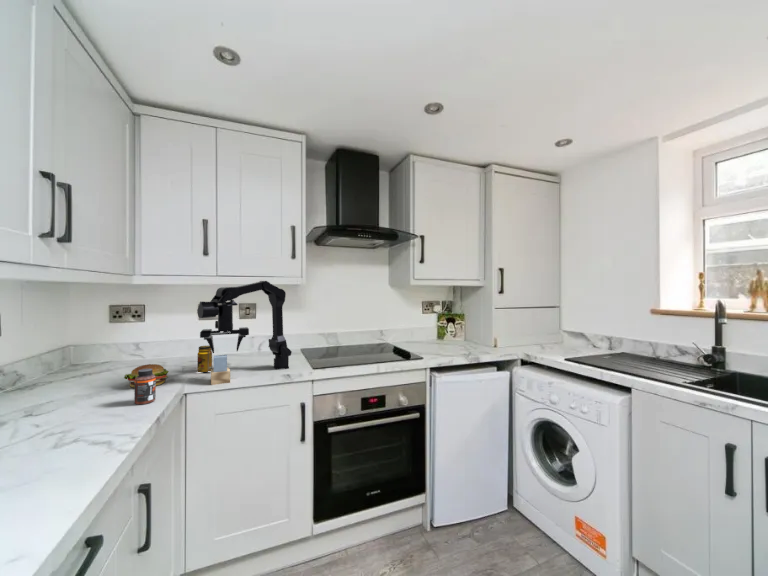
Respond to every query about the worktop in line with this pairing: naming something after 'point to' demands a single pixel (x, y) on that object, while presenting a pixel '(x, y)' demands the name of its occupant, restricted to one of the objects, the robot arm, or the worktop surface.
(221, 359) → the blue block
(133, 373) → the food
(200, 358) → the condiment
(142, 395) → the supplement bottle
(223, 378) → the tan block
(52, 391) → the worktop surface
